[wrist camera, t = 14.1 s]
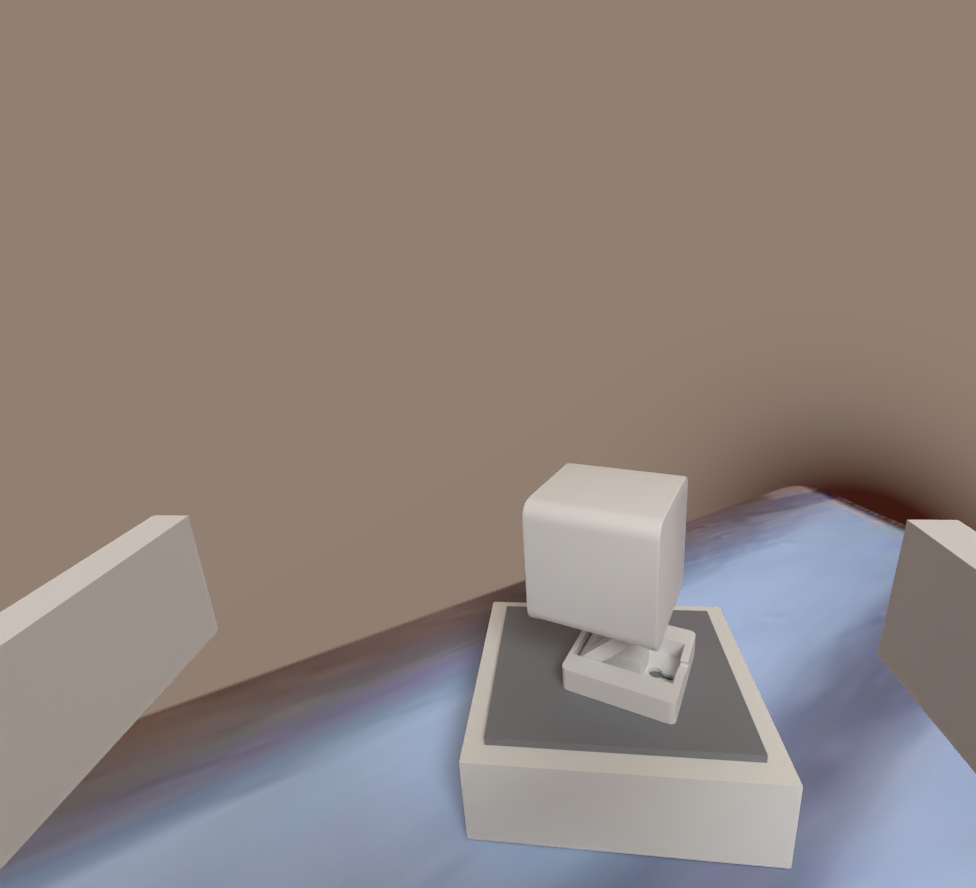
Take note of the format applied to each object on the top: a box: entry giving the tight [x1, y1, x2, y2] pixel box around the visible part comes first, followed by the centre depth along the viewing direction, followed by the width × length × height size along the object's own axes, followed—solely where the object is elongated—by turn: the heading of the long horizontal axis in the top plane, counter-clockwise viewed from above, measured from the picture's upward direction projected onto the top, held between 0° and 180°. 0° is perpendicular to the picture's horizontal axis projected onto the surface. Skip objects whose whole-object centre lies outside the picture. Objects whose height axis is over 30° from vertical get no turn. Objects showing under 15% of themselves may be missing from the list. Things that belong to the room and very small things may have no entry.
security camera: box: [522, 463, 696, 724], centre depth 26 cm, size 6×7×10 cm
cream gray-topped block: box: [459, 602, 803, 869], centre depth 28 cm, size 14×12×5 cm
